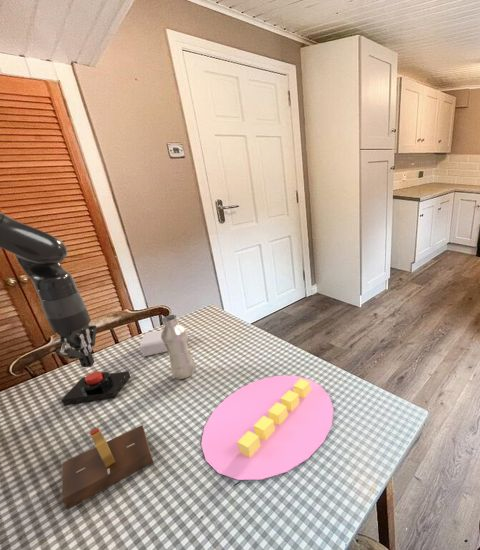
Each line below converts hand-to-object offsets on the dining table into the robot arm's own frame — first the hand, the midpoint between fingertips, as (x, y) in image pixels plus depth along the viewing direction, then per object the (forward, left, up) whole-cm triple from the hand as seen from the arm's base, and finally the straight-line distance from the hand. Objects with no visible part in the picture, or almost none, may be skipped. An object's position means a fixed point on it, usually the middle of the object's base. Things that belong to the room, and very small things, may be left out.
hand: (89, 365), depth 84 cm
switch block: (0, -1, -9) cm, 9 cm away
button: (0, -1, -5) cm, 5 cm away
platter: (+49, -22, -9) cm, 54 cm away
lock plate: (+16, -28, -9) cm, 33 cm away
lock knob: (+16, -28, -6) cm, 32 cm away
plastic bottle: (+22, +1, -9) cm, 24 cm away
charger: (+12, +19, -9) cm, 25 cm away
